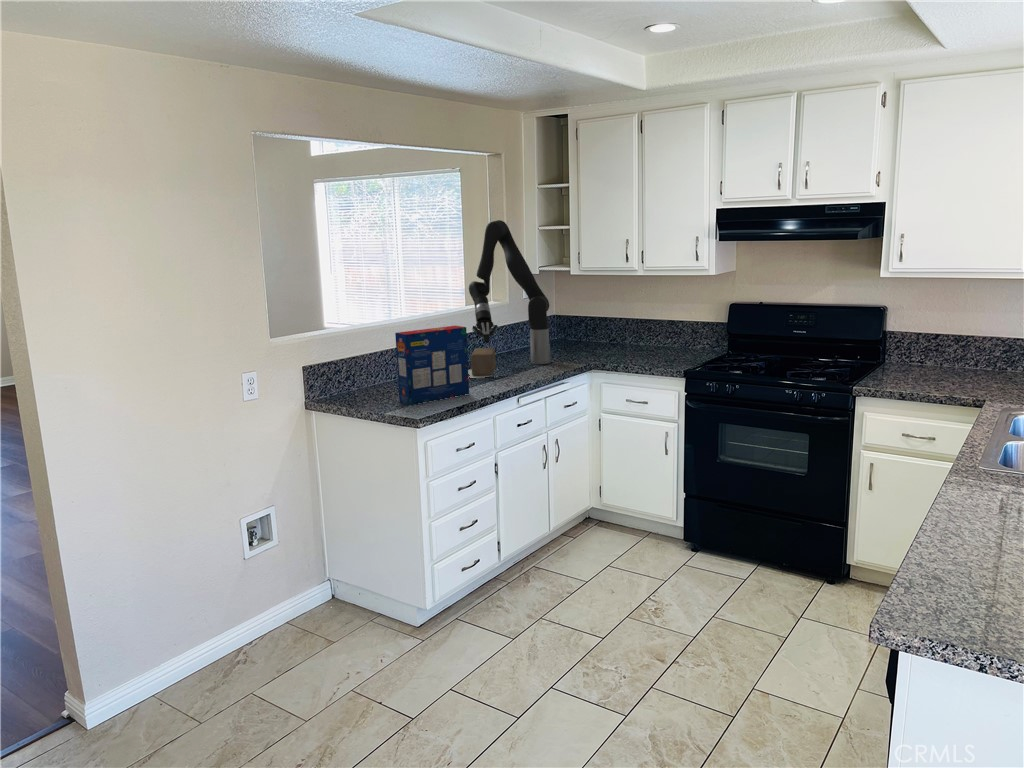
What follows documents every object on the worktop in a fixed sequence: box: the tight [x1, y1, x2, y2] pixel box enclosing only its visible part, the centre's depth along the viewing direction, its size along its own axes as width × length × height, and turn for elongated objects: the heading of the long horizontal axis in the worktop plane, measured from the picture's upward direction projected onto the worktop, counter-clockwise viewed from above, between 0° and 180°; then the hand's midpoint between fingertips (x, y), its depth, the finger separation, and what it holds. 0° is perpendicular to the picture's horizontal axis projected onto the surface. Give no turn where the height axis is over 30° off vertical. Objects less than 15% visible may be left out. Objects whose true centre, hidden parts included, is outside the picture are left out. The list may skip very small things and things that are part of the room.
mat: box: [468, 368, 499, 379], centre depth 361 cm, size 22×22×1 cm
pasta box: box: [394, 325, 470, 406], centre depth 308 cm, size 28×8×28 cm, turn 127°
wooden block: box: [470, 347, 497, 376], centre depth 362 cm, size 10×10×20 cm
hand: (487, 342), depth 371 cm, fingers closed
